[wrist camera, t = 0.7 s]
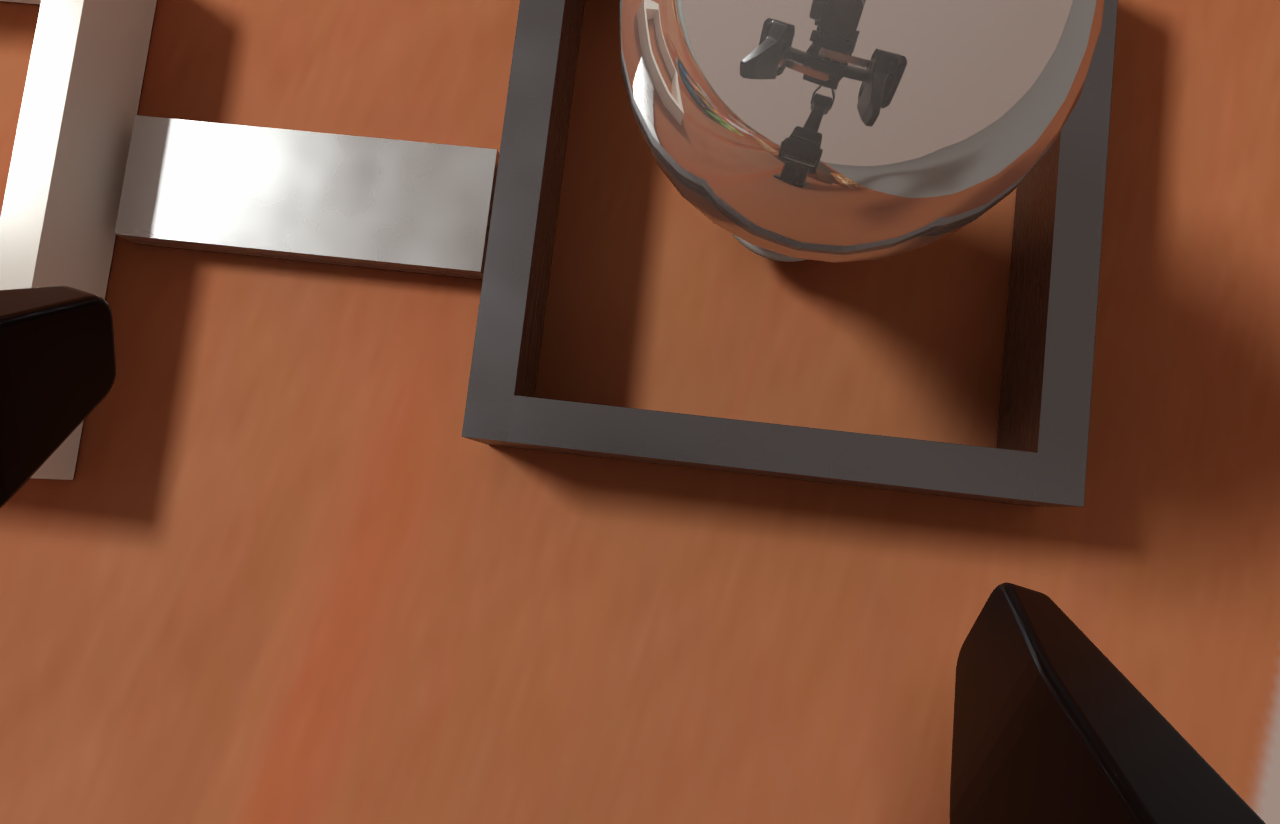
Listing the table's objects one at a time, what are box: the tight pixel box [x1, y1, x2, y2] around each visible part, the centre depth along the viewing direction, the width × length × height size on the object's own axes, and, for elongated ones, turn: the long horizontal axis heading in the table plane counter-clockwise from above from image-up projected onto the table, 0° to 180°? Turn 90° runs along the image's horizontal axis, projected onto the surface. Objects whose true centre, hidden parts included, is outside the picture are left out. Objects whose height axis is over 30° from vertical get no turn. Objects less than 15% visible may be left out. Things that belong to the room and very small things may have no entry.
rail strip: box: [114, 115, 500, 279], centre depth 22 cm, size 3×9×1 cm, turn 84°
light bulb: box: [618, 0, 1104, 263], centre depth 16 cm, size 7×7×12 cm
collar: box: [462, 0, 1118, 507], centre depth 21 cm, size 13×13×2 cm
